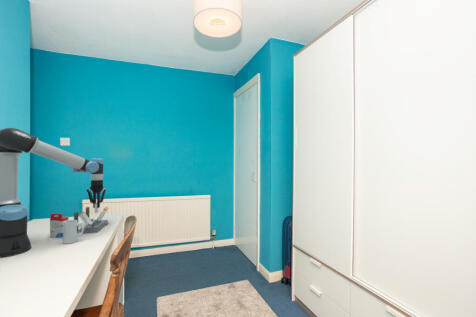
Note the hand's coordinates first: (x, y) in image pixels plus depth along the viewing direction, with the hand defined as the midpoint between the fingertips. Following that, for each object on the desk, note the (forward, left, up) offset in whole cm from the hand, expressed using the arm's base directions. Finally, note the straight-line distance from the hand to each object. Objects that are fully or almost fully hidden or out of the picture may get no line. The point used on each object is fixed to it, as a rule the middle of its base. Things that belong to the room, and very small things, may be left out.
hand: (96, 212), depth 163 cm
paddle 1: (-11, -1, -7) cm, 13 cm away
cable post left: (-11, +9, -10) cm, 18 cm away
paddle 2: (0, -1, -6) cm, 6 cm away
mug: (-31, +1, -10) cm, 32 cm away
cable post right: (+13, +9, -10) cm, 19 cm away
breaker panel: (-5, -1, -10) cm, 11 cm away
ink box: (-19, +14, -10) cm, 26 cm away
